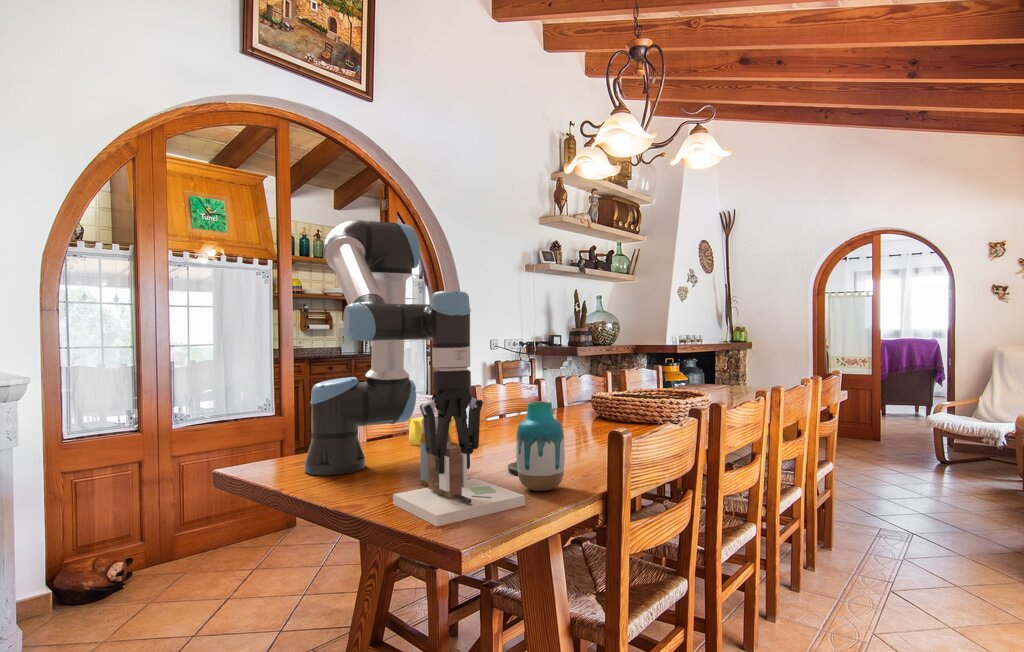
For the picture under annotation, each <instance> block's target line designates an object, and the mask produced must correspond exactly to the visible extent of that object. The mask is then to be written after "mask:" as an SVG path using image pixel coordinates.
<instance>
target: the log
mask: <svg viewBox="0 0 1024 652" xmlns="http://www.w3.org/2000/svg"><path fill="white" fill-rule="evenodd" d="M507 470H508V474H510V475H512V476H516V477H519V476H518V470H517V460H516V461H515V462H511V463H508V464H507Z"/></svg>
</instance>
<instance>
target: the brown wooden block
mask: <svg viewBox="0 0 1024 652" xmlns="http://www.w3.org/2000/svg"><path fill="white" fill-rule="evenodd" d="M445 456H447V457H449V481H450V491H444V490H442V489H439V474H438V473H436V465H435V456H434V455H431V454H428V486H427V488H428V489H430V490H433V491H435V492H436V493H437V494H442V495H445V496H447V497H449V498H453V497H454V498H457V499H459V500H462V501H464V502H466V503H471V499H469V498H467V497H464V496H462V478H461V447H459V446H458V445H453V444H452V443H451V444H447V447H446V455H445Z"/></svg>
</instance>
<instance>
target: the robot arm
mask: <svg viewBox="0 0 1024 652" xmlns="http://www.w3.org/2000/svg"><path fill="white" fill-rule="evenodd" d="M323 255H324V259H325V261H326V263H327V265H328V266H329V267H330V268H331V269H332V270H334V273H335V275H336V277H337V280H338V283H339V285H340V288H341V290H342V293H343V296H344V298H345V301H346V303H347V305H346V306H345V308H344V311H343V317H342V318H343V320H342V323H343V328H344V329H343V331H344V335H345V337H346V338H347V339H348V340H351V341H363V342H371V365H370V366H371V368H370V369H369V370H368V371H367V372H366V373H365V377H364V379H365V380H364V381H362V382H361V381H360V382H359V379H358V378H357V377H355V376H349V377H341V378H334V379H329V380H325V381H320V382H318V383H315V384H314V385H313V387H312V388H311V393H310V394H311V395H310V398H311V399H310V405H311V413H310V414H311V415H310V416H311V420H310V421H311V441H310V444H309V447H308V451H307V454H306V457H305V460H304V472H305V473H306V474H307V475H314V476H335V475H336V476H337V475H344V474H351V473H355V472H358V471H359V472H360V471H361V470H363V469H365V467H366V457H365V454H364V450H363V448H362V445H361V443H360V440H359V427H365V426H376V425H377V426H378V425H387V424H389V425H394V424H398V423H405V422H408V419H409V418H410V417H411V418H412V415H413V414H414V411H415V408H416V403H417V402H416V401H417V391H416V389H417V388H416V383H415V381H414V380H412V379H410V374H409V373H408V371H406V370H405V368H404V367H405V365H404V364H405V341H418V340H419V341H421V340H423V341H429V340H430V341H431V342H432V344H431V345H432V357H431V358H432V362H431V363H432V367H433V369H435V370H433V371H432V388H433V394H432V397H431V400H430V401H428V402H426V403H421V404H420V405H419V409H420V412H421V414H422V417H423V419H424V432H425V446H426V453H428V454H431V455H434V456H435V465H436V473H438V474H439V489H442V490H444V491H450V481H449V457H447V456H445V455H446V447H447V440H448V432H449V425H450V422H451V420H452V418H454V419H455V420H454V422H455V428H456V433H457V440H458V445H459V446H458V447H461V478H462V487H463V488H466V487H467V480H468V470H469V469H470V468H471V455H472V454H473V453H474V450H477V449H479V447H480V446H479V444H480V443H479V442H480V425H481V423H480V422H481V410H482V408H483V404H484V401H483V399H477V398H475V397H473V396H472V393H471V391H470V390H471V386H472V379H471V377H472V375H471V374H472V373H471V371H470V369H468V368H470V367H471V311H472V310H471V308H470V307H471V306H470V296H469V294H468V293H467V292H466V291H459V290H445V291H444V290H441V291H436V292H434V293H432V295H431V302H430V303H431V304H428V303H427V304H425V303H422V304H420V303H417V304H416V303H406V290H407V280H408V279H409V278H410V277H411V276H412V275H413V269H416V268H417V267H418V266H419V264H420V259H421V245H420V240H419V237H418V234H417V232H416V230H415V228H414V227H412V226H411V225H409V224H405V223H400V222H388V221H386V222H385V221H375V220H373V221H372V220H362V219H361V220H360V219H351V220H348V221H344V222H343V223H340V224H338V225H337V226H336V227H334V228H333V229H332V230H331V231H330V232H329V233H328V235H327V236H326V239H325V241H324V245H323ZM468 407H469V408H468ZM467 408H468V412H467ZM436 410H437V416H435V412H436ZM467 413H468V414H467ZM435 417H437V419H438V427H437V434H436V426H435Z"/></svg>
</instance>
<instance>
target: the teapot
mask: <svg viewBox="0 0 1024 652" xmlns="http://www.w3.org/2000/svg"><path fill="white" fill-rule="evenodd" d="M422 419H423V416H420V417H415V418H412V416H411V417H410V418H409V419H408V420H407V424H408V430H409V431H408V443H409V445H410V446H415V447H420V439H421V436H422ZM454 422H455V419H454V418H453V417H452V420H451V422H450V425H449V435H450V438H451V439H452V431H453V424H454Z"/></svg>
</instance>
